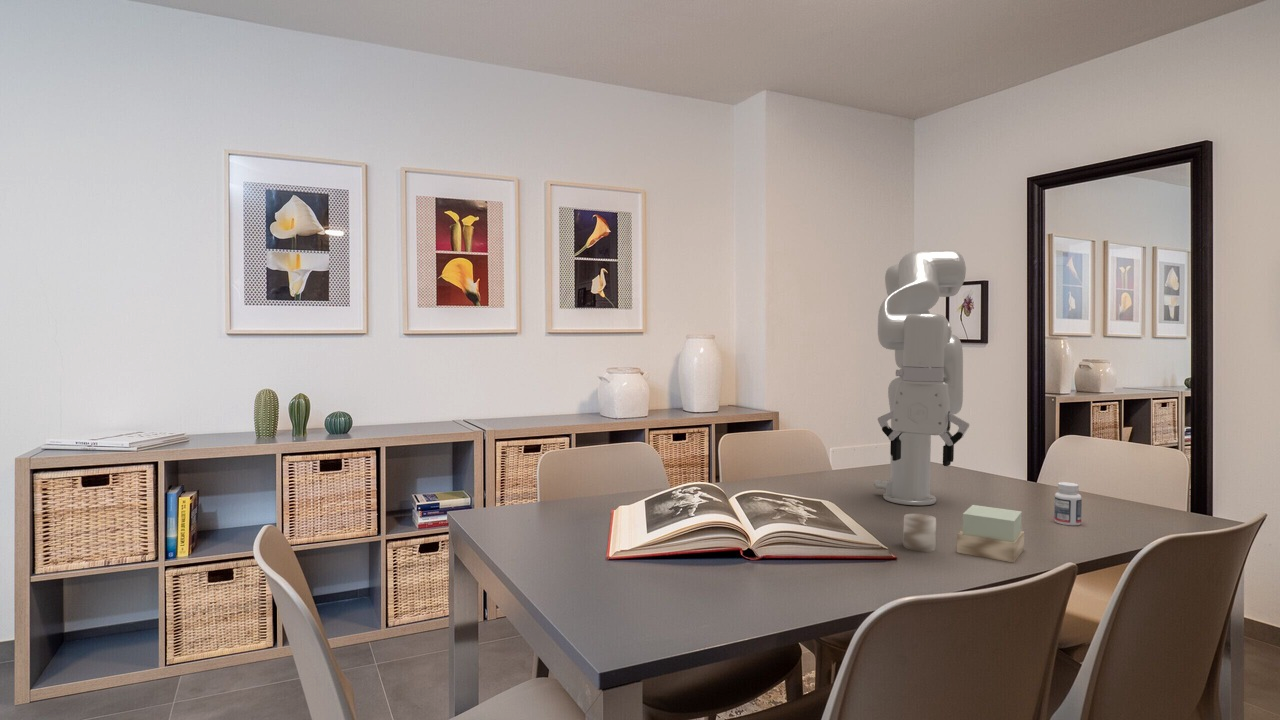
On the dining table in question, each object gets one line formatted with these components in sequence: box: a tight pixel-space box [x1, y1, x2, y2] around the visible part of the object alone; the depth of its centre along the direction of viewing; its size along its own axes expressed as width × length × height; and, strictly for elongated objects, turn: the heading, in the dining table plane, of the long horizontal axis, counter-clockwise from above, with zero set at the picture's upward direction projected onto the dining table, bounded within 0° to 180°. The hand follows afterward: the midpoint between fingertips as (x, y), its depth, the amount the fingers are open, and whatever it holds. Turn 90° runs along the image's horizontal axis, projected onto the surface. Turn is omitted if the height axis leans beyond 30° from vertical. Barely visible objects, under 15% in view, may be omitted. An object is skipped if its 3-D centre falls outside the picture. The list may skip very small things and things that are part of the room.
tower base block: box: [956, 530, 1025, 563], centre depth 143 cm, size 10×10×4 cm
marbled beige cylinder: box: [902, 513, 937, 553], centre depth 146 cm, size 6×6×6 cm
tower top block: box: [961, 504, 1023, 542], centre depth 143 cm, size 9×9×4 cm
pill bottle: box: [1053, 481, 1083, 526], centre depth 165 cm, size 5×5×9 cm
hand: (921, 462), depth 145 cm, fingers open, 9 cm apart
